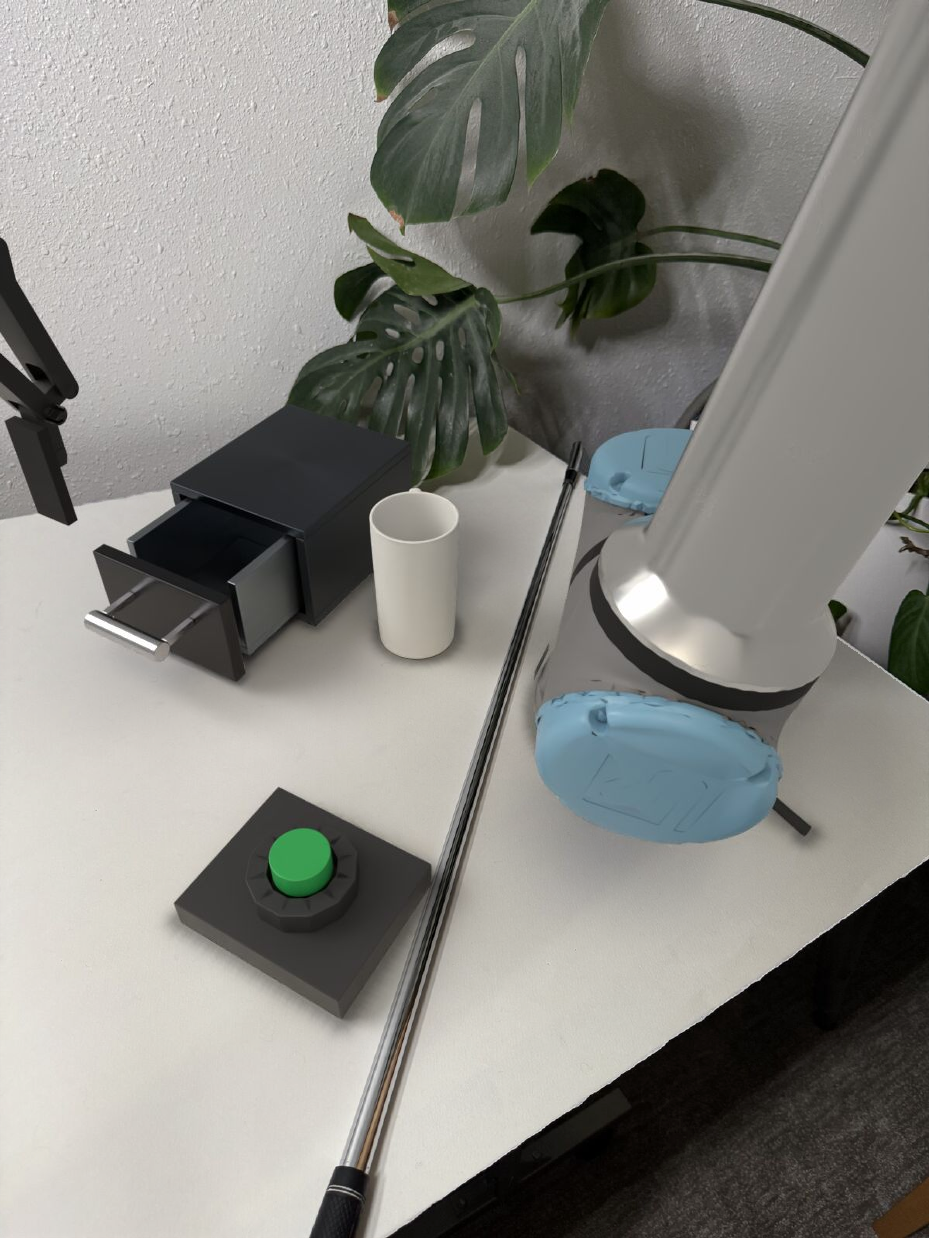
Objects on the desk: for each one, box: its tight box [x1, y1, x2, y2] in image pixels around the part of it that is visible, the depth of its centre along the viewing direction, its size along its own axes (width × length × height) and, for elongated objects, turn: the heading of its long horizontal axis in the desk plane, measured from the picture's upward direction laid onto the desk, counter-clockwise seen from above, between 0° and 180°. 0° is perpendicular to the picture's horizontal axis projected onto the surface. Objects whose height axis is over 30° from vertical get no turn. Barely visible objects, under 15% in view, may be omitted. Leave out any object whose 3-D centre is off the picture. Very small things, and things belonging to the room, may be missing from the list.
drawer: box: [83, 497, 305, 683], centre depth 71 cm, size 19×13×8 cm, turn 151°
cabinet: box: [169, 403, 414, 627], centre depth 79 cm, size 16×14×10 cm
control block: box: [173, 786, 433, 1020], centre depth 54 cm, size 12×10×4 cm
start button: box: [269, 828, 333, 897], centre depth 52 cm, size 4×4×2 cm
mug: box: [370, 487, 460, 660], centre depth 71 cm, size 10×7×12 cm, turn 2°
